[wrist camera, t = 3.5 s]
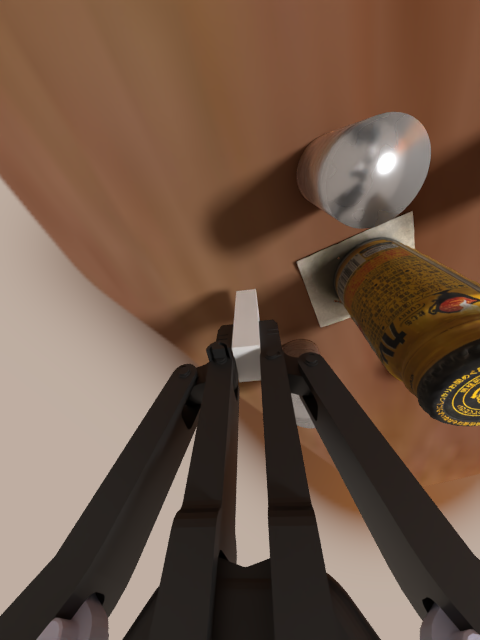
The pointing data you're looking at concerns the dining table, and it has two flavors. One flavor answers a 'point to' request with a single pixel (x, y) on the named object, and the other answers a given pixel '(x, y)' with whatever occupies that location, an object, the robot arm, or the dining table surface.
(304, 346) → the cylinder
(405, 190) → the cylinder
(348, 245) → the condiment
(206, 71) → the dining table surface
